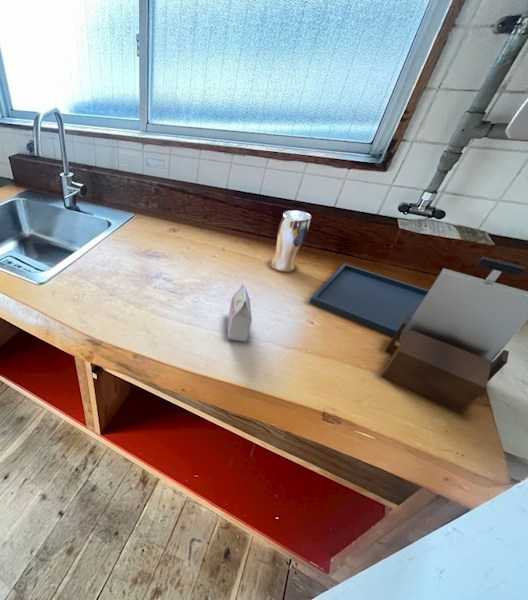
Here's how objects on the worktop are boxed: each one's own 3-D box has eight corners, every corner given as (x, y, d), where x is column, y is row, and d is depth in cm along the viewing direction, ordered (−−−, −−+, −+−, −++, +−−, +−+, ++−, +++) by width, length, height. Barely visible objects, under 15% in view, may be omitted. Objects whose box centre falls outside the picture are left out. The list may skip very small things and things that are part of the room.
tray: (475, 311, 72) (480, 306, 71) (460, 364, 60) (465, 358, 59) (342, 268, 88) (344, 263, 87) (309, 302, 76) (311, 297, 75)
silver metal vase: (296, 274, 86) (313, 221, 77) (268, 270, 88) (282, 218, 79) (295, 261, 91) (311, 211, 82) (269, 258, 94) (282, 208, 85)
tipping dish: (479, 375, 55) (480, 367, 57) (562, 279, 46) (559, 274, 48) (397, 341, 62) (400, 335, 65) (454, 252, 53) (455, 248, 55)
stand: (480, 380, 57) (509, 351, 52) (471, 419, 51) (503, 390, 47) (389, 342, 65) (407, 314, 61) (372, 372, 59) (391, 343, 55)
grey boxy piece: (244, 320, 72) (253, 284, 66) (246, 341, 67) (256, 303, 61) (227, 318, 73) (235, 282, 67) (228, 339, 68) (235, 301, 62)
